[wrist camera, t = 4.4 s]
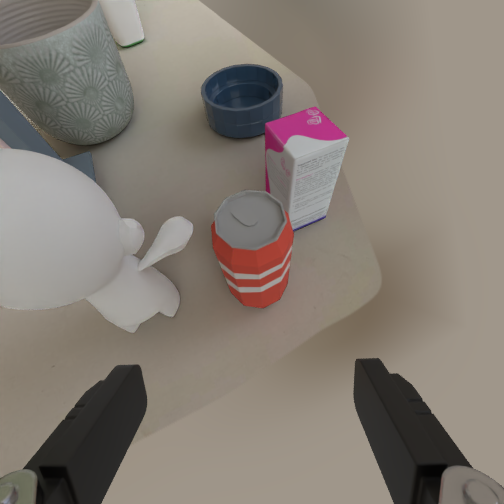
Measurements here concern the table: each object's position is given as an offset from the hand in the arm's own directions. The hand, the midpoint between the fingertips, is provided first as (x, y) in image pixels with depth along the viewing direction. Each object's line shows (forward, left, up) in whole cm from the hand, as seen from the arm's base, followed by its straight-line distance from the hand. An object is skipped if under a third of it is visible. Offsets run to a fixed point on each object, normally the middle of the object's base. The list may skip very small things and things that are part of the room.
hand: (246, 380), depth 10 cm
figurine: (+14, -4, -16) cm, 21 cm away
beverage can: (+3, -10, -16) cm, 19 cm away
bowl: (+13, -38, -16) cm, 43 cm away
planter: (+37, -31, -16) cm, 51 cm away
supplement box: (+1, -21, -16) cm, 26 cm away
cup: (+47, -60, -16) cm, 78 cm away
